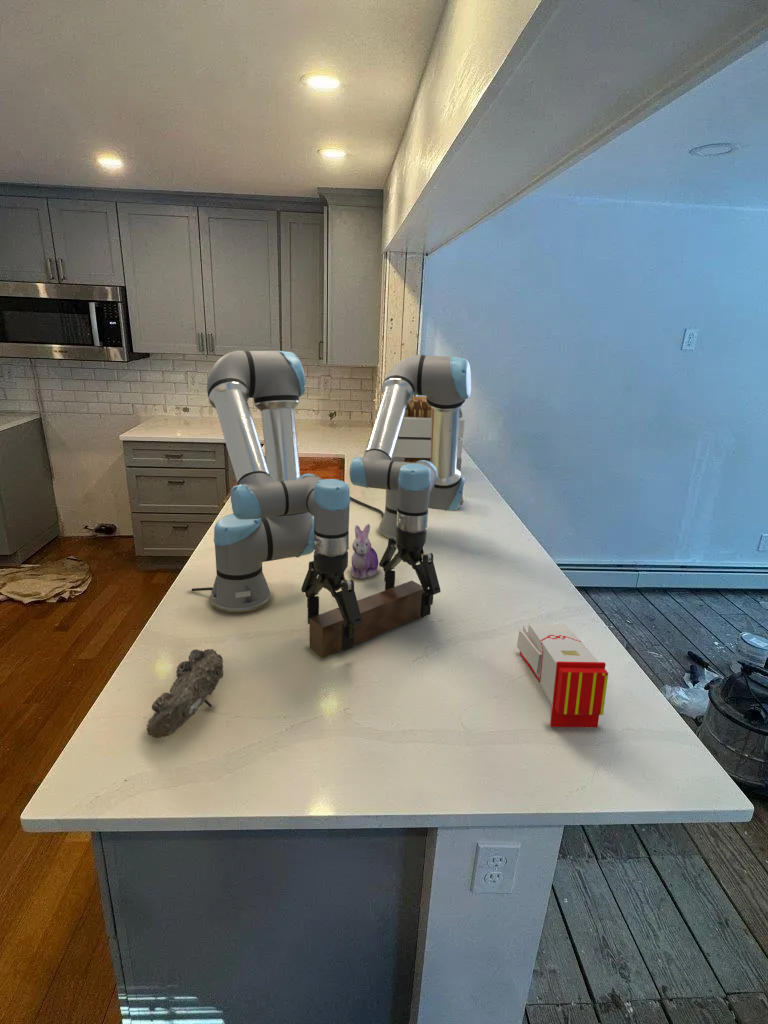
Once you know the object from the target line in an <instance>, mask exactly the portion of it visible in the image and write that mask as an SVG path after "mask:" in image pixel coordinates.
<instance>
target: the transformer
mask: <svg viewBox="0 0 768 1024" xmlns="http://www.w3.org/2000/svg"><path fill="white" fill-rule="evenodd" d="M464 429H465V419H464V418H463V411H462V408H461V407H460V409H459V429H458V449H457V469H458V470H459V471H460V474H461V472H462V461H463V460H462V453H463V442H464V441H463V440H462V439H463V438H464V431H465V430H464ZM420 460H426V461H429V462H431V406H429V405H428V403H427V396H419V395H414V396H413V398H412V400H411V401H410V402H408V404H407V408H406V411H405V415H404V418H403V422H402V425H401V429H400V432H399V436H398V440H397V443H396V447H395V450H394V454H393V457H392V461H398V462H409V463H415V462H417V461H420ZM461 475H462V474H461Z"/></svg>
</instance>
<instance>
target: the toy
mask: <svg viewBox="0 0 768 1024" xmlns="http://www.w3.org/2000/svg"><path fill="white" fill-rule="evenodd" d="M516 648H517V649H518V651H519V655H520V657H521V658H522V659H523V662H525V664H526V665H527V667H528V668H529V670H530V671H531V673H532V674H533V676H534V678H535V679H536V680H537V681H538V683H539V684H540V686H541V688H542V690H543V691H544V693H545V695H546V697H547V699H548V700H549V701H550V703H551V713H550V715H551V716H550V723H549V726H550V727H551V728H598V727H599V720H600V716H603V715H604V711H605V703H606V695H607V687H608V680H609V679H608V678H609V672H608V671H607V670H606V662H604V661H599V660H598V659H597V657H595V655H594V654H593V653H592V652H591V651H590V650H589V649H588V648H587V646H586V645H585V644H584V643H583V642H582V641H581V639H580V638H579V637H578V636H577V635H576V634H575V632H574V631H573V630H572V629H571V628H570V627H569V625H568V624H567V623H566V624H565V623H528V625H523V626H522V629H519V630H518V636H517V643H516Z"/></svg>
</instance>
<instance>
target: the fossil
mask: <svg viewBox="0 0 768 1024" xmlns="http://www.w3.org/2000/svg"><path fill="white" fill-rule="evenodd" d="M223 659H224V658H223V657H222V655H221V654H219V653H218V652H217V651H216V650H214V649H213V648H211V649H210V648H207V649H204V650H200V649H197V648H196V649H192V650H191V651H190V653H189V655H188V660H185V661H181V662H180V663H179V664H178V665H177V667H176V679H174V681H173V683H172V686H171V687H170V690H169V692H163V693H161V694H160V696H157V698H156V699H155V700H154V701H153V703H152V705H151V710H152V711H153V712H154V713H153V715H152V716H151V717H150V718H149V719H148V721H147V725H146V726H147V727H146V733H147V736H151V737H152V738H153V739H159V738H163V737H164V738H165V737H167V736H168V737H171V736H172V735H173V734H174V733H175V732H176V731H178V730H179V729H180V728H181V727H182V726H183V725H184V724H185V723H186V722H187V721H188V720H189V719H190V718H192V717H193V716H194V715H195V713H197V711H198V708H200V707H201V706H203V704H204V703H205V704H206V705H207V706H208V707H209V708H211V707H213V705H212V704H211V703H210V701H208V699H207V698H208V696H211V695H212V694H213V693H214V692H215V690H216V687H217V686H218V684H219V682H220V680H221V679H222V678H223V676H224V664H223V662H224V661H223Z"/></svg>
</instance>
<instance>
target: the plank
mask: <svg viewBox="0 0 768 1024" xmlns="http://www.w3.org/2000/svg"><path fill="white" fill-rule="evenodd" d="M423 592H424V590H423V587H422V585H421V584H419V583H418V582H416V581H414V580H410V581H407V582H404V583H402V584H399V585H395V587H393V588H390V589H388V590H385V589H384V590H382V591H380V592H377V593H374V594H371V595H369V596H366V597H363V598H361V599H360V598H359V599H358V600H357V602H358V606H359V610H360V614H361V618H362V624H359V625H357V626H355V636H354V646H355V645H358V644H361V643H363V642H364V641H368V640H369V639H372V638H374V637H376V636H379V635H381V634H384V633H386V632H388V631H390V630H392V629H393V630H394V629H395V628H398V627H400V626H402V625H404V624H407V623H409V622H412V621H414V620H416V619H419V618H422V617H421V616H420V613H421V600H422V593H423ZM309 622H310V625H309V650H311V651H312V652H313V653H315V654H316V656H318V657H320V658H321V659H325V658H328V657H330V656H332V655H334V654H337V653H339V652H341V651H343V650H342V624H343V623H345V622H344V620H343V617H342V615H341V612H340V609H339V607H336V608H334V609H330V610H328V611H326V612H322V613H319V615H317V616H314V617H311V618H309Z"/></svg>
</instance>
